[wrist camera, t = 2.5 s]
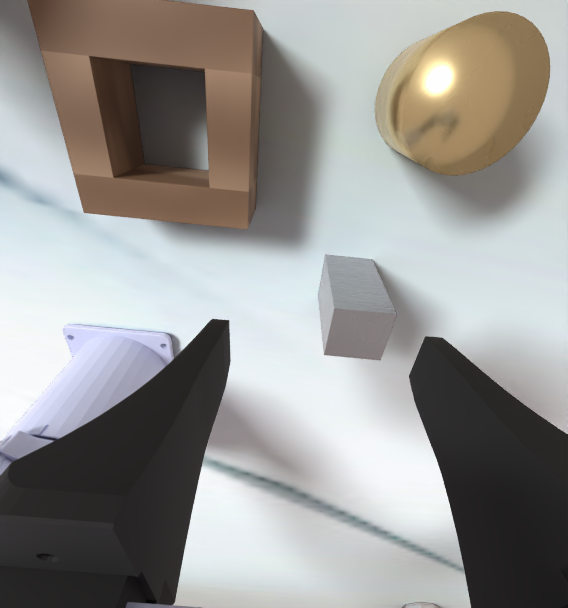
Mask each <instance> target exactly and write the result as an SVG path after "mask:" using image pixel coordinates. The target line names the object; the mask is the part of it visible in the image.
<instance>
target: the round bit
mask: <svg viewBox="0 0 568 608" xmlns="http://www.w3.org/2000/svg"><path fill="white" fill-rule="evenodd" d="M549 78H550V58H549V53H548V48H547V45H546V43H545V40H544V38H543V36H542V34H541V33H540V31H539V30H538V29H537V28H536V26H535V25H534V24H533V23H532V22H530V21H529V20H527V19H526V18H524V17H522V16H520V15H518V14H515V13H510V12H499V11H495V12H488V13H483V14H480V15H477V16H474V17H472V18H469V19H467V20H465V21H463V22H460V23H458V24H456V25H454V26H452V27H449V28H447V29H445V30H443V31H441V32H438V33H436V34H434V35H432V36H429V37H427V38H425V39H423V40H421V41H418V42H416V43H414V44H413V45H411V46H409V47H408V48H407V49H405V50H404V51H403V52H402V53H401V54H400V55H399V56H398V57H397V58H396V59H395V60H394V61H393V62H392V64H391V65H390V66H389V68H388V69H387V71H386V72H385V74H384V76H383V78H382V80H381V83H380V86H379V88H378V92H377V96H376V102H375V119H376V124H377V127H378V130H379V133H380V135H381V137H382V138H383V139H384V141H385V142H386V143H387V144H388V145H389V146H390V147H391V148H392V149H394V150H395V151H397V152H399V153H401V154H403V155H404V156H406V157H408V158H410V159H411V160H413V161H415V162H417V163H418V164H420V165H422V166H424V167H426V168H427V169H429V170H431V171H433V172H436V173H439V174H444V175H464V174H469V173H473V172H476V171H479V170H481V169H483V168H485V167H488V166H490V165H491V164H493V163H495V162H496V161H498V160H499V159H501V158H502V157H503V156H505V155H506V154H507V153H508V152H509V151H510V150H512V149H513V148H514V147H515V146H516V145H517V144H518V143H519V141H520V140H521V139H522V138H523V137H524V136H525V134H526V133H527V132H528V130H529V129H530V127H531V126H532V124H533V123H534V121H535V119H536V117H537V115H538V114H539V112H540V109H541V107H542V105H543V102H544V99H545V96H546V93H547V89H548V84H549Z"/></svg>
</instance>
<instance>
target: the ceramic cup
mask: <svg viewBox="0 0 568 608" xmlns="http://www.w3.org/2000/svg"><path fill="white" fill-rule="evenodd" d="M402 608H439V607H438V606H436V605H435V604H432V603H421V602H418V603H412V604H406V605H404V606H403V607H402Z"/></svg>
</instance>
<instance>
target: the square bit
mask: <svg viewBox="0 0 568 608" xmlns="http://www.w3.org/2000/svg"><path fill="white" fill-rule="evenodd" d="M318 299H319V309H320V319H321V329H322V339H323V349H324V355H330V356H341V357H352V358H362V359H373V360H381V357H382V355H383V352H384V349H385V346H386V343H387V341H388V338H389V335H390V332H391V329H392V327H393V324H394V321H395V318H396V315H397V313H396V311H395V309H394V307H393V304H392V302H391V300H390V298H389V295H388V293H387V291H386V289H385V287H384V284H383V282H382V280H381V278H380V275H379V273H378V271H377V269H376V267H375V264H374V262H373V260H372V259H364V258H354V257H344V256H334V255H325V259H324V264H323V270H322V276H321V281H320V287H319V292H318Z"/></svg>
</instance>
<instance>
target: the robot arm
mask: <svg viewBox="0 0 568 608" xmlns="http://www.w3.org/2000/svg"><path fill="white" fill-rule="evenodd" d="M62 330H63V334H64V336H65V339H66V341H67V344H68V346H69V349H70V352H71V354H72V357H73V358H72V359H71V360H70V361H69V363H68V364H67V365H66V366H65V367H64V368H63V370H62V371H61V372H60V373H59V374H58V375H57V377H56V378H55V379H54V380H53V381H52V382H51V383H50V385H49V386H48V387H47V388H46V389H45V390H44V392H43V393H42V394H41V395H40V396H39V397H38V399H37V400H36V401H35V402H34V403H33V404H32V406H31V407H30V408H29V409H28V410H27V411H26V412H25V414H24V415H23V416H22V417H21V418H20V419H19V421H18V422H17V423H16V424H15V425H14V426H13V428H12V429H11V430H10V431H9V432H8V433H7V434H6V436H5V437H4V438H3V439H2V440H1V441H0V608H200V607H187V606H174V605H173V604H174V603H175V598H176V593H177V587H178V582H179V576H180V571H181V565H182V560H183V554H184V549H185V544H186V539H187V534H188V529H189V524H190V519H191V513H192V509H193V504H194V499H195V494H196V490H197V485H198V480H199V476H200V471H201V467H202V462H203V458H204V453H205V450H206V446H207V443H208V439H209V436H210V433H211V430H212V427H213V424H214V421H215V418H216V415H217V412H218V408H219V405H220V402H221V399H222V396H223V393H224V390H225V386H226V382H227V377H228V372H229V366H230V333H229V320H218V319H212V320H211V321H209V323H208V324H207V325H206V326H205V327H204V328H203V329H202V330H201V332H200V333H199V334H198V335H197V336H196V337H195V338H194V339H193V340H192V341H191V342H190V343H189V344H188V345H187V346H186V347H185V348H184V349H183V350H182V351H181V352H180V353H179V354H178V355H177V356H176V357H175V358H174V355H173V348H172V341H171V337H170V336H169V335H168V334H165V333H158V332H147V331H136V330H126V329H115V328H105V327H94V326H84V325H73V324H67V325H65V326H64V327H63V329H62ZM164 344H166V345H164ZM409 378H410V383H411V388H412V392H413V396H414V400H415V403H416V406H417V409H418V412H419V414H420V417H421V420H422V422H423V425H424V428H425V430H426V433H427V435H428V438H429V441H430V443H431V446H432V448H433V451H434V454H435V456H436V459H437V462H438V465H439V468H440V471H441V474H442V477H443V481H444V485H445V488H446V492H447V496H448V499H449V503H450V507H451V511H452V516H453V520H454V524H455V528H456V532H457V537H458V541H459V546H460V551H461V555H462V560H463V565H464V570H465V575H466V581H467V586H468V592H469V597H470V603H471V608H568V434H566V433H565V432H563V431H561V430H560V429H558V428H557V427H555V426H554V425H552V424H551V423H550V422H548V421H547V420H545V419H544V418H542V417H541V416H539V415H538V414H536V413H535V412H534V411H532V410H531V409H529V408H528V407H527V406H525V405H524V404H523V403H521V402H520V401H519V400H517V399H516V398H515V397H513V396H512V395H511V394H510V393H508V392H507V391H506V390H504V389H503V388H502V387H501V386H499V385H498V384H497V383H496V382H494V381H493V380H492V379H491V378H490V377H488V376H487V375H486V374H485V373H484V372H482V371H481V370H480V369H479V368H478V367H477V366H475V365H474V364H473V363H472V362H471V361H470V360H468V359H467V358H466V357H465V356H464V355H463V354H461V353H460V352H459V351H458V350H457V349H456V348H454V347H453V346H452V345H451V344H449V343H448V342H447V341H446V340H444V339H443V338H438V337H426V336H425V339H424V341H423V343H422V346H421V348H420V351H419V353H418V355H417V358H416V360H415V363H414V365H413V367H412V370H411V372H410V375H409Z"/></svg>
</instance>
